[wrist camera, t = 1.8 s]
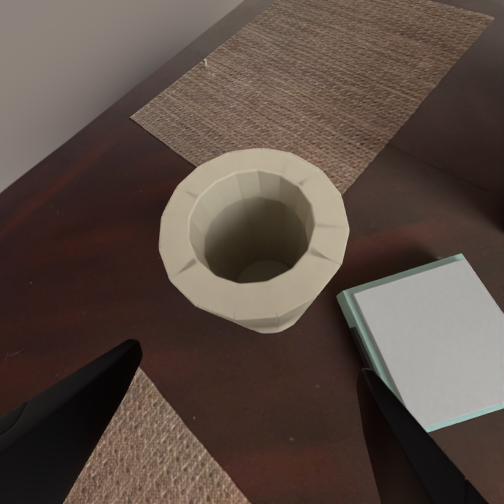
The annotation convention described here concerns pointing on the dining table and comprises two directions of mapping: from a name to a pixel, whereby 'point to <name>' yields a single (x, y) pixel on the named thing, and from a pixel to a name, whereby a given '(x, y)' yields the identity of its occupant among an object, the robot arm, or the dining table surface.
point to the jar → (254, 237)
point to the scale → (432, 340)
